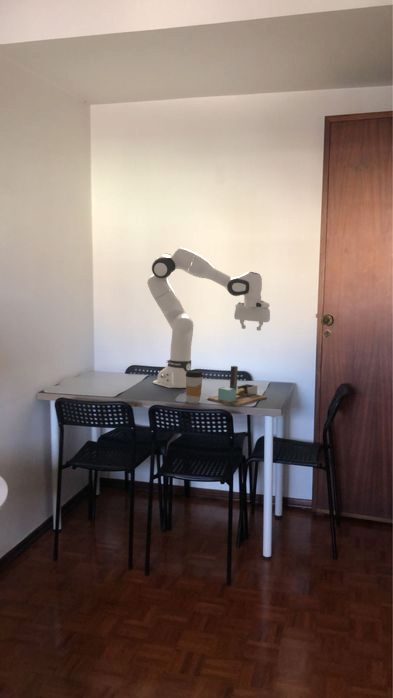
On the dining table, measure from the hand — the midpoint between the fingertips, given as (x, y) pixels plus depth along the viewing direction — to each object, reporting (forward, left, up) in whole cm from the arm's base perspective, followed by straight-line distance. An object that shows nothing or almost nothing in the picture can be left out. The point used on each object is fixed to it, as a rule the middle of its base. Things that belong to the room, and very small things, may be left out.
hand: (251, 329), depth 308 cm
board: (+7, -20, -33) cm, 39 cm away
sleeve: (+7, -12, -32) cm, 35 cm away
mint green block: (+7, -29, -33) cm, 45 cm away
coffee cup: (-4, -42, -33) cm, 54 cm away
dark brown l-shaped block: (+7, -23, -31) cm, 39 cm away
